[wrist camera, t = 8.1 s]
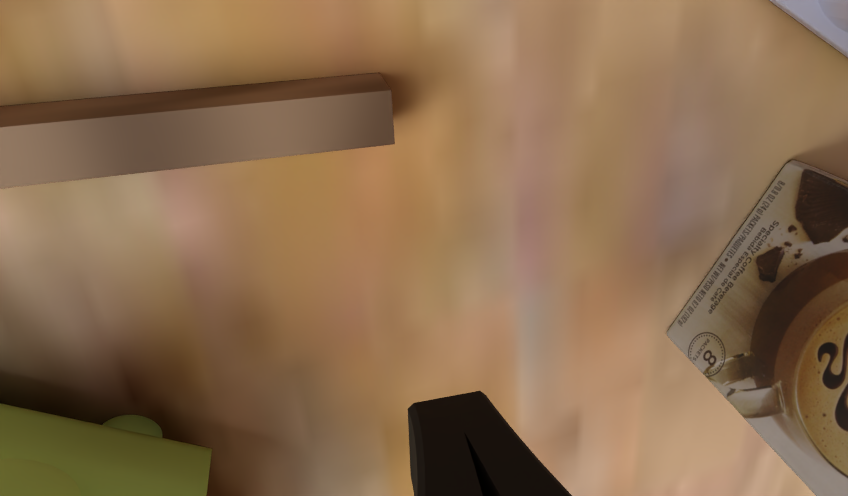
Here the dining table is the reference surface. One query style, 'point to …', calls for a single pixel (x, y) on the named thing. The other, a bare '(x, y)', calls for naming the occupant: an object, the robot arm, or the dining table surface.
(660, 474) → the dining table surface
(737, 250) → the coffee box
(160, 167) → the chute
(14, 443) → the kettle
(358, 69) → the dining table surface
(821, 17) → the robot arm
